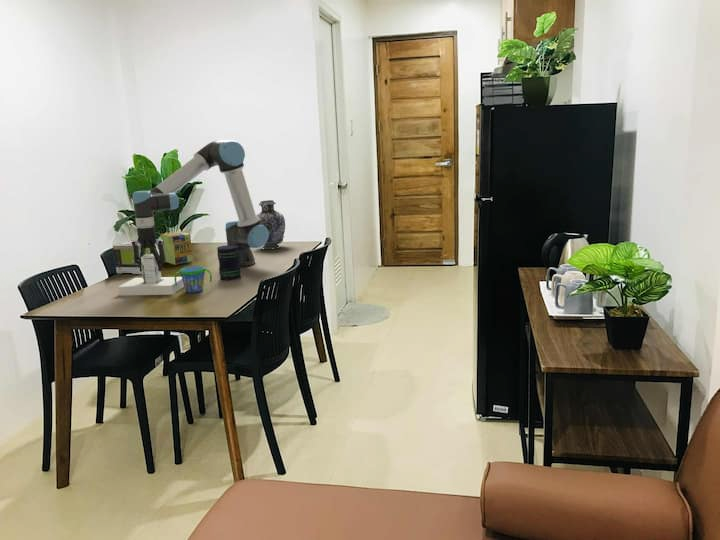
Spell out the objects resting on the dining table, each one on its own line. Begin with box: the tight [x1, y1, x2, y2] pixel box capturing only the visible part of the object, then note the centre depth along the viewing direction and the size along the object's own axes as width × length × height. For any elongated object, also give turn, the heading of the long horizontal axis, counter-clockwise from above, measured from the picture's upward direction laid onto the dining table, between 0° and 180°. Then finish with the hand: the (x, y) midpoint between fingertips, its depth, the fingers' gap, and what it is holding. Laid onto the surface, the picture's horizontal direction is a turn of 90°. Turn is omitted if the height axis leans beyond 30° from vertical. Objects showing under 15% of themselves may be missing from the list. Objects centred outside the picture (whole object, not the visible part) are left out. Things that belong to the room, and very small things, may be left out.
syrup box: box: [141, 253, 161, 284], centre depth 264 cm, size 6×6×14 cm
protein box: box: [160, 231, 194, 266], centre depth 324 cm, size 10×15×16 cm
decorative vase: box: [256, 199, 286, 250], centre depth 350 cm, size 21×19×28 cm
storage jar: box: [216, 244, 242, 282], centre depth 281 cm, size 10×10×15 cm
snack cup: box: [174, 265, 213, 294], centre depth 260 cm, size 16×10×10 cm
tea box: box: [112, 242, 151, 275], centre depth 304 cm, size 15×10×15 cm
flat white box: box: [117, 276, 185, 296], centre depth 265 cm, size 24×16×4 cm, turn 85°
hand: (152, 278), depth 265 cm, fingers closed on syrup box, 6 cm apart
